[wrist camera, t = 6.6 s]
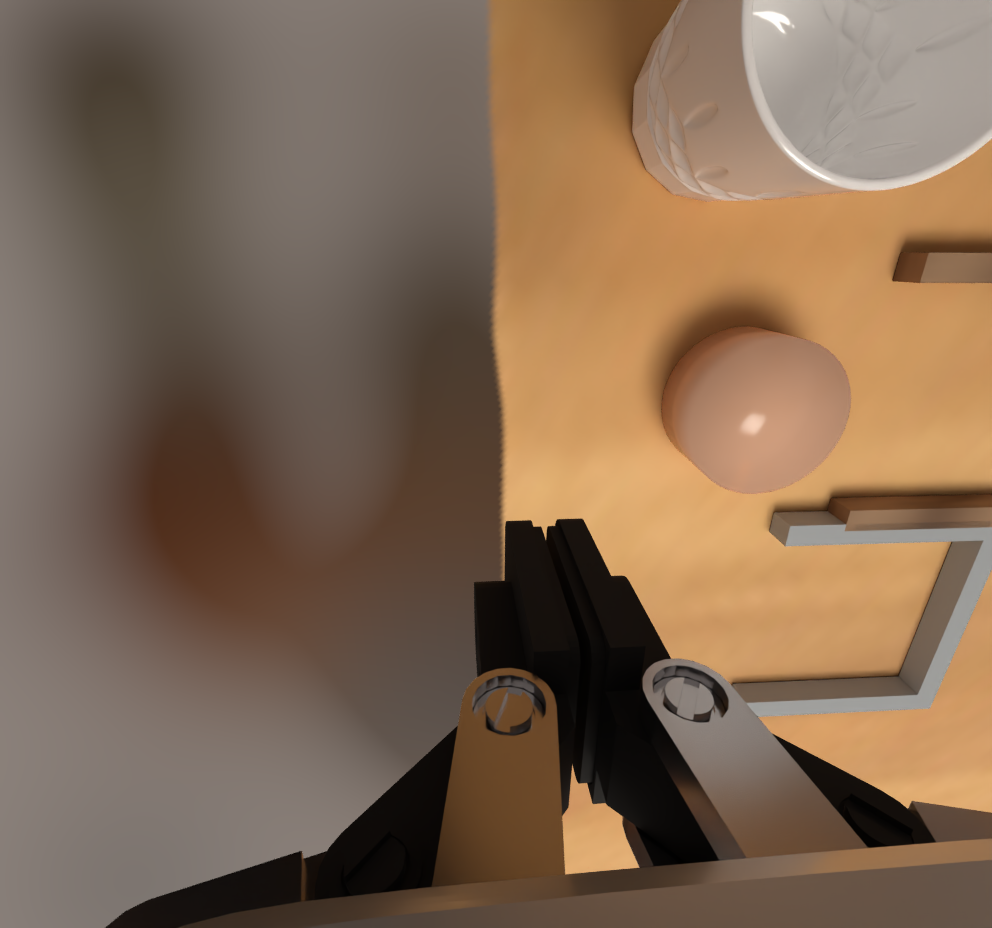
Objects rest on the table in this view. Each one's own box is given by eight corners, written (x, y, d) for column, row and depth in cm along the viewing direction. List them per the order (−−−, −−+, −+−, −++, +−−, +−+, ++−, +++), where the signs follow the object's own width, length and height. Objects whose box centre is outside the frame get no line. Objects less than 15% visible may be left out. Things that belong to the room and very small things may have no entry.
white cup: (852, 81, 20) (1178, -63, 11) (713, 256, 22) (888, 258, 13) (713, -78, 18) (972, -420, 9) (575, 132, 20) (668, 31, 11)
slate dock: (986, 507, 28) (1013, 520, 27) (910, 689, 33) (929, 708, 32) (773, 512, 28) (790, 526, 26) (729, 698, 33) (741, 717, 31)
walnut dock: (1152, 254, 24) (1195, 254, 22) (1034, 512, 29) (1063, 525, 27) (900, 252, 23) (929, 252, 21) (825, 517, 28) (844, 531, 27)
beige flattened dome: (816, 325, 24) (870, 337, 21) (783, 463, 27) (827, 492, 23) (670, 326, 24) (703, 337, 20) (652, 465, 26) (679, 495, 23)
